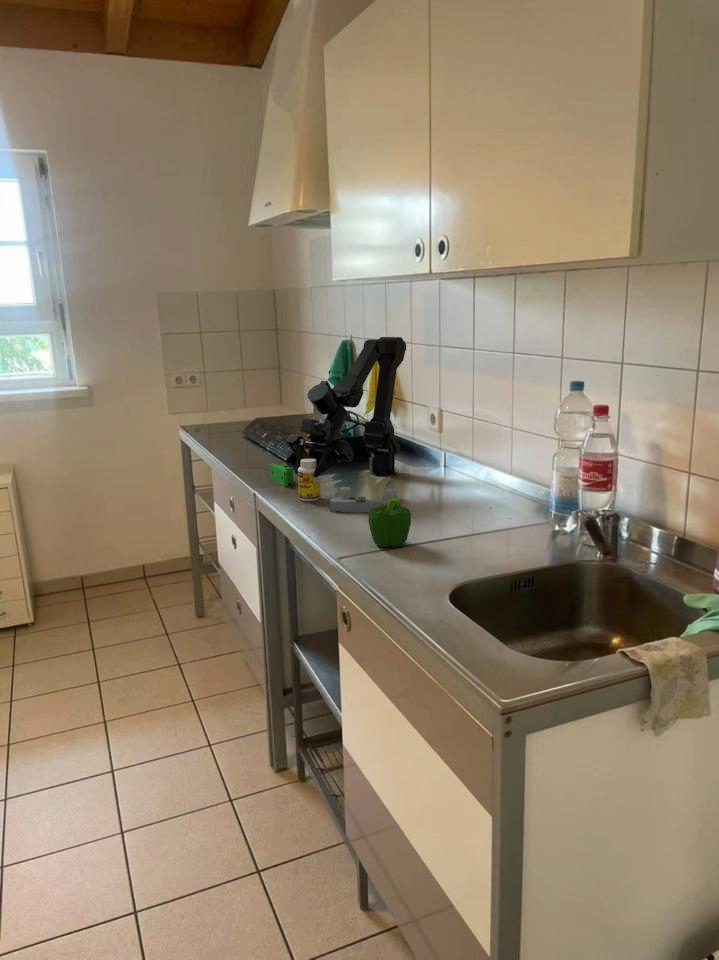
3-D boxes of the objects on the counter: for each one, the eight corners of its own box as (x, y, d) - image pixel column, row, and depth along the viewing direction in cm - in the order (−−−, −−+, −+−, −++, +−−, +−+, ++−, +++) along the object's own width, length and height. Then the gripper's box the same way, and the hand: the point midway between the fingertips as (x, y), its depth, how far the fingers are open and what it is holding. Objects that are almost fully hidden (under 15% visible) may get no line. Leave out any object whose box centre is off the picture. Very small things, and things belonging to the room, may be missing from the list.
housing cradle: (341, 496, 187) (340, 484, 186) (397, 498, 184) (397, 485, 184) (330, 511, 173) (329, 498, 172) (390, 513, 171) (390, 500, 170)
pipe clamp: (297, 486, 199) (296, 470, 198) (284, 487, 198) (283, 471, 197) (283, 477, 209) (282, 462, 208) (270, 479, 208) (270, 463, 206)
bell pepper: (361, 542, 150) (361, 495, 148) (395, 536, 154) (395, 490, 152) (382, 554, 143) (382, 505, 141) (417, 546, 147) (417, 499, 145)
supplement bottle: (294, 500, 184) (292, 460, 182) (308, 495, 188) (307, 456, 186) (311, 503, 181) (309, 463, 179) (325, 498, 185) (324, 459, 183)
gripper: (288, 403, 188) (261, 453, 181) (346, 408, 177) (320, 460, 171) (308, 429, 196) (283, 477, 190) (365, 435, 185) (340, 486, 179)
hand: (305, 475), depth 182 cm, fingers closed on supplement bottle, 6 cm apart
